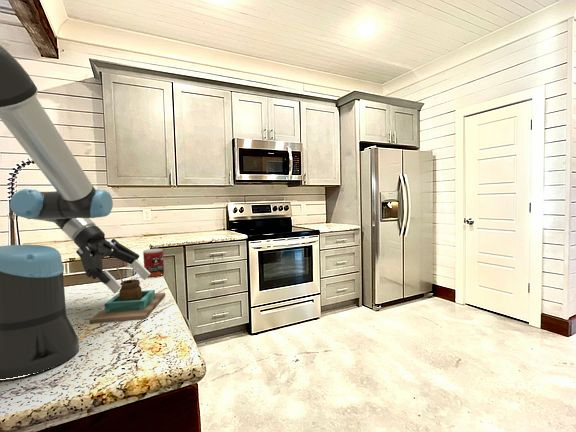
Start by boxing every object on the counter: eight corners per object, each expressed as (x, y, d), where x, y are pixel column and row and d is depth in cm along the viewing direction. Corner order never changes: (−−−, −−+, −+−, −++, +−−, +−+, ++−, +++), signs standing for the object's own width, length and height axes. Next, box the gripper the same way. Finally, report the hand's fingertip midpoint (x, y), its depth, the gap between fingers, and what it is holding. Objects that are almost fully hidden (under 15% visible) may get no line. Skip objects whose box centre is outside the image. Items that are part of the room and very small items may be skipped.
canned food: (147, 279, 125) (145, 252, 125) (142, 275, 132) (141, 250, 131) (166, 275, 130) (165, 250, 129) (161, 272, 136) (160, 247, 136)
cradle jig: (145, 318, 83) (144, 306, 83) (89, 323, 81) (88, 310, 81) (165, 295, 103) (164, 285, 102) (120, 298, 101) (120, 288, 101)
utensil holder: (145, 304, 92) (142, 264, 91) (122, 310, 87) (119, 268, 87) (138, 299, 96) (136, 261, 95) (116, 305, 92) (113, 265, 91)
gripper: (107, 236, 106) (150, 280, 104) (39, 249, 81) (94, 306, 80) (120, 221, 104) (164, 264, 103) (55, 229, 80) (111, 286, 79)
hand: (134, 283), depth 92 cm, fingers open, 13 cm apart
